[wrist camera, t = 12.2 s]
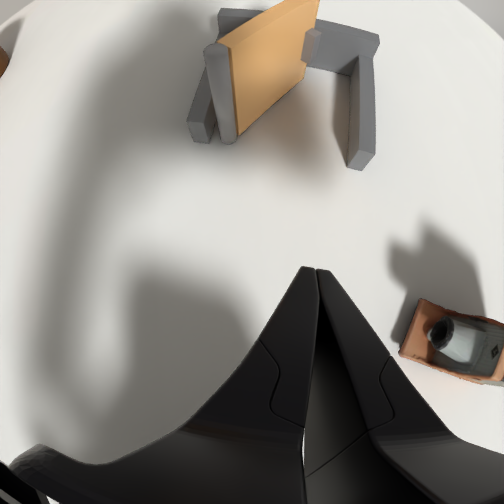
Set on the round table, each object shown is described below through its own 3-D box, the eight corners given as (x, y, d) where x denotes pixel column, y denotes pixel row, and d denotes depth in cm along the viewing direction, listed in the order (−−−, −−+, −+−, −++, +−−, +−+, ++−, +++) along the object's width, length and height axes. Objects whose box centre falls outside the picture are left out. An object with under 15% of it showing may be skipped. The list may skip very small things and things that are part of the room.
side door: (311, 83, 22) (331, 0, 13) (236, 152, 21) (226, 67, 12) (293, 71, 23) (306, -12, 13) (217, 138, 22) (198, 52, 12)
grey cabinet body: (361, 171, 21) (386, 140, 17) (194, 141, 22) (180, 104, 17) (362, 62, 23) (377, 26, 18) (228, 39, 24) (224, 1, 19)
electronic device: (412, 296, 20) (476, 294, 13) (489, 334, 20) (550, 340, 12) (391, 353, 20) (449, 375, 12) (472, 382, 19) (530, 401, 12)
